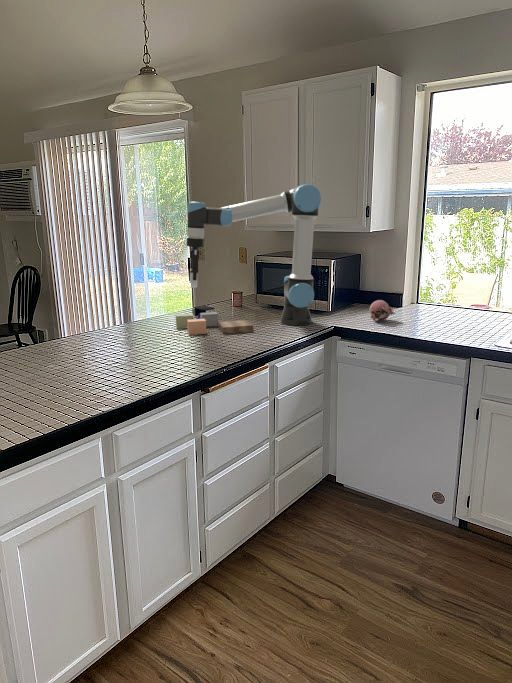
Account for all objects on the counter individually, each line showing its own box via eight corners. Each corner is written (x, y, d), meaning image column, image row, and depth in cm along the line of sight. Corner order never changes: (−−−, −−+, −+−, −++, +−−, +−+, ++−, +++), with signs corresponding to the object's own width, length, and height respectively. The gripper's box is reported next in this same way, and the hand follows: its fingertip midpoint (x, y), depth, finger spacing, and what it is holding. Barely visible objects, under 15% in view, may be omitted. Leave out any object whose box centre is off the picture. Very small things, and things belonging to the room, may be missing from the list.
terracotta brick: (204, 331, 243) (204, 318, 242) (206, 333, 238) (206, 320, 237) (187, 332, 241) (187, 319, 240) (189, 334, 236) (188, 322, 235)
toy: (398, 322, 247) (396, 314, 261) (392, 301, 244) (390, 294, 258) (373, 329, 250) (372, 321, 264) (367, 308, 248) (366, 301, 262)
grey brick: (216, 323, 258) (216, 311, 257) (218, 325, 253) (218, 313, 252) (200, 324, 256) (200, 312, 255) (202, 327, 251) (201, 314, 250)
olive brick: (192, 325, 255) (191, 313, 254) (193, 327, 251) (193, 315, 249) (176, 326, 253) (175, 314, 252) (177, 328, 249) (176, 316, 247)
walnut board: (247, 326, 251) (247, 320, 250) (253, 331, 240) (252, 325, 239) (218, 328, 248) (218, 322, 247) (223, 333, 237) (222, 327, 236)
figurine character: (191, 321, 271) (204, 323, 258) (190, 306, 270) (203, 307, 257) (203, 319, 275) (216, 321, 262) (202, 305, 274) (215, 306, 261)
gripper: (185, 235, 243) (184, 280, 248) (187, 239, 219) (186, 289, 225) (201, 236, 245) (199, 281, 250) (205, 240, 221) (203, 289, 226)
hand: (193, 285), depth 237 cm, fingers open, 13 cm apart
